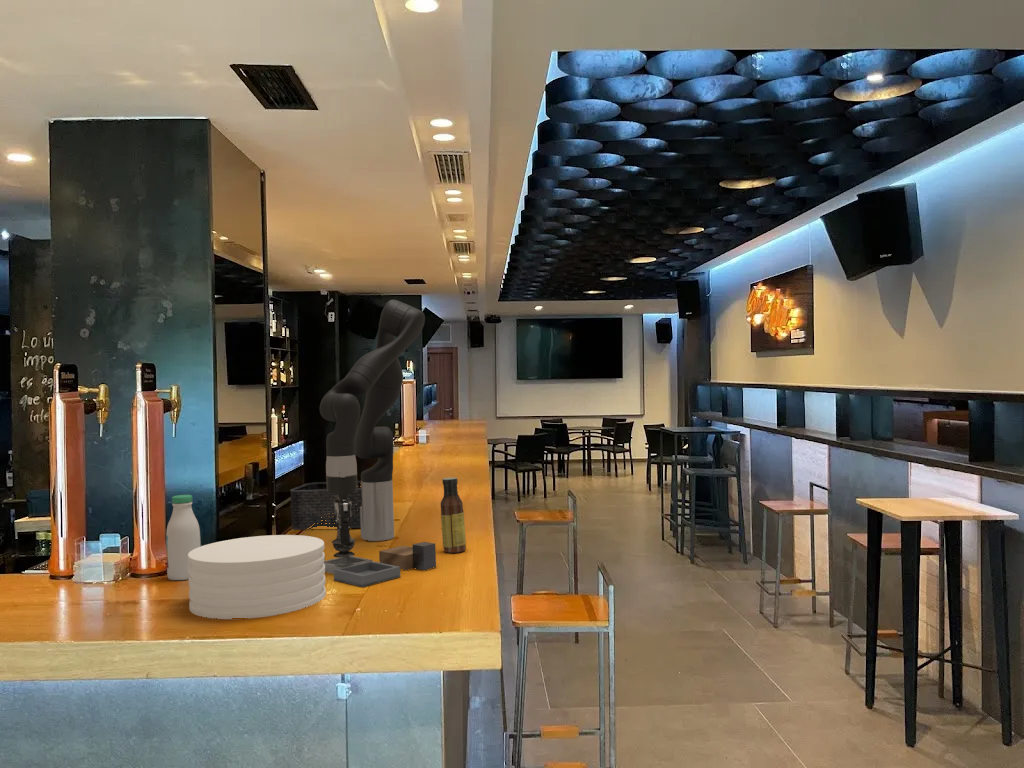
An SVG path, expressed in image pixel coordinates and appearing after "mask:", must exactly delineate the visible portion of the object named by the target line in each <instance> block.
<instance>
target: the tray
mask: <svg viewBox="0 0 1024 768" xmlns="http://www.w3.org/2000/svg"><path fill="white" fill-rule="evenodd" d="M398 577H400V578H401V570H400V567H399V566H394V565H389V564H384V563H380V561H374V560H372V561H368V562H364V563H360V564H356V565H351V566H347V567H343V568H339V569H335V570H334V574H333V581H336V582H339V583H343V584H348V585H353V586H357V587H361V588H366V587H370V586H372V584H374V585H376V584H375V583H377V584H380V583H379V582H381V583H384V582H383V581H385V582H388V581H387V580H389V581H391V579H392V580H395V579H394V578H396V579H399V578H398ZM369 585H370V586H369Z"/></svg>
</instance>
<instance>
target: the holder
mask: <svg viewBox="0 0 1024 768" xmlns="http://www.w3.org/2000/svg"><path fill="white" fill-rule="evenodd" d="M368 561H373V559H369V558H363V557H359V556H355V555H354V556H350V557H342V558H340V557H334V558H331V559H327V560H325V561H324V562H323V563H324V564H325V573H327V572H328V573H327V574H331V573H332V574H333V575H334V570H335V569H339V568H343V567H347V566H351V565H356V564H360V563H364V562H368Z"/></svg>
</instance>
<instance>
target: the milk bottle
mask: <svg viewBox="0 0 1024 768" xmlns="http://www.w3.org/2000/svg"><path fill="white" fill-rule="evenodd" d="M171 502H172V504H171V506H172V507H173V508H172V511H171V512H172V513H171V516H170V518H169V521H168V523H167V526H166V527H167V528H166V534H165V535H166V537H165V539H166V542H165V544H166V546H165V547H166V573H167V574H166V575H167V578H168V580H170V581H185V580H189V577H190V575H189V573H188V566H189V564H190V563H189V562H188V553H189V552H190V551H192V550H193V549H196V548H198V547H201V546H202V544H201V529H200V525H199V522H198V519H197V518H196V516H195V513H194V511H193V507H192V504H193V495H192V494H179V495H174V496H172V497H171Z"/></svg>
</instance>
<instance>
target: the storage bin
mask: <svg viewBox="0 0 1024 768" xmlns="http://www.w3.org/2000/svg"><path fill="white" fill-rule="evenodd" d="M289 491H290V510H291V529H292V530H293V531H294V530H295V531H297V530H298V531H310V530H309V529H311V528H313V527H317V526H327V527H329V526H330V527H333V526H334V527H336V525H337V522H336V519H335V517H336V516H335V507H334V500H335V496H337V494H329V493H327V482H326V481H323V482H322V481H320V482H319V481H318V482H308V483H303V484H302V485H300V486H297V487H294V488H291V489H290V490H289ZM348 499H350V500H351V504H352V505H351V526H350V528H361V521H360V507H361V506H362V491H361V480H357V491H356V492H354V493H349V494H348ZM321 517H322V518H321ZM325 517H326V518H325ZM321 520H323V521H321ZM325 520H326V521H325ZM314 523H315V524H314ZM317 523H318V524H317ZM321 523H322V524H321ZM325 523H327V524H325ZM329 523H330V524H329ZM334 523H335V524H334ZM313 524H314V525H313ZM312 525H313V526H312ZM310 526H312V527H311V528H309V527H310ZM307 528H309V529H308V530H306V529H307Z"/></svg>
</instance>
